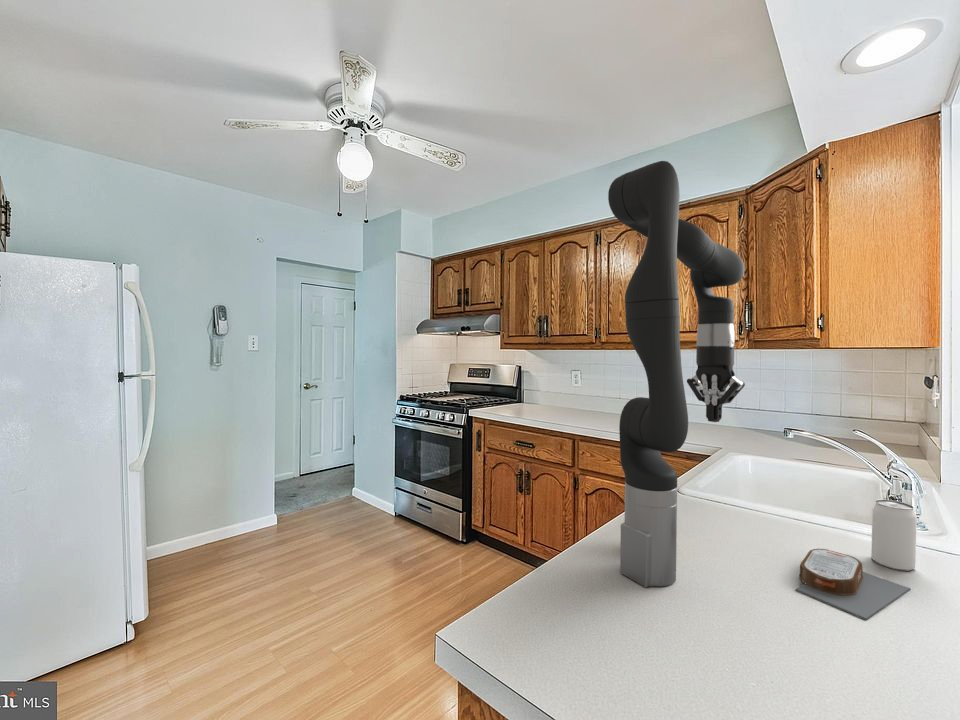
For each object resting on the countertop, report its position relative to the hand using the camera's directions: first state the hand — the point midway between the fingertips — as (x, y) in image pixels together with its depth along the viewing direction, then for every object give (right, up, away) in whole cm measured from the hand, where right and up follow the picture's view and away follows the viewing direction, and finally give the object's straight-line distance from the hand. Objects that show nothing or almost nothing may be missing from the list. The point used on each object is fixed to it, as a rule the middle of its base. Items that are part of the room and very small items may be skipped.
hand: (713, 421), depth 100 cm
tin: (+10, -25, -14) cm, 30 cm away
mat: (+13, -27, -21) cm, 37 cm away
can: (+30, -27, -12) cm, 42 cm away
